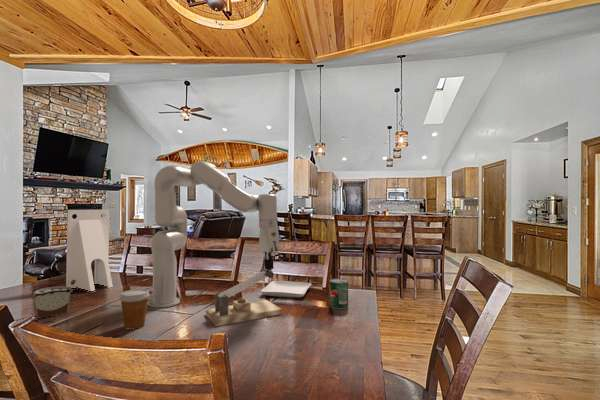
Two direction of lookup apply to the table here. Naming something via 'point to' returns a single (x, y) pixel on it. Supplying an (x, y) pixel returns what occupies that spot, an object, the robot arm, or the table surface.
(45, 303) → the food container
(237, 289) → the press lever
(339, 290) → the canned tomato
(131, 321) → the disposable coffee cup
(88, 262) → the white arched stand
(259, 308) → the press base
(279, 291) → the salad plate
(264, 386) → the table surface
